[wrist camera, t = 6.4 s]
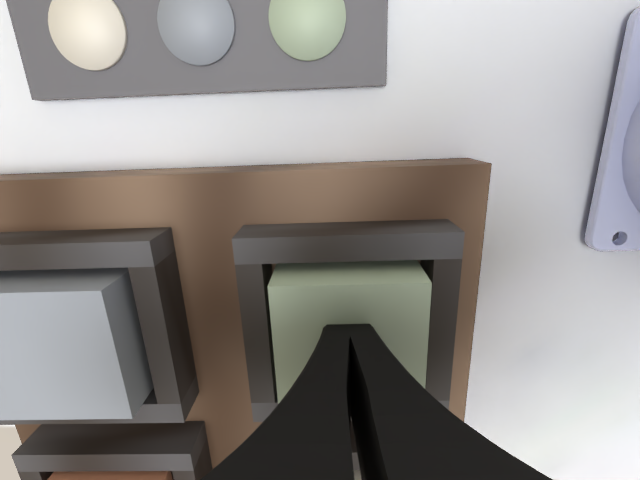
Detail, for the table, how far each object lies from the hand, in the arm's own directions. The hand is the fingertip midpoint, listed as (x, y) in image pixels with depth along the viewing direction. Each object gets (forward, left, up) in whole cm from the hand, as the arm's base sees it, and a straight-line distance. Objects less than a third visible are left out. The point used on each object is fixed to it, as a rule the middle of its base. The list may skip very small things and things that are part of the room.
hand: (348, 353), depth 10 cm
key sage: (0, 0, -2) cm, 2 cm away
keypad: (+4, +4, -4) cm, 7 cm away
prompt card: (+4, -10, -4) cm, 11 cm away
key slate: (+9, 0, -2) cm, 9 cm away
